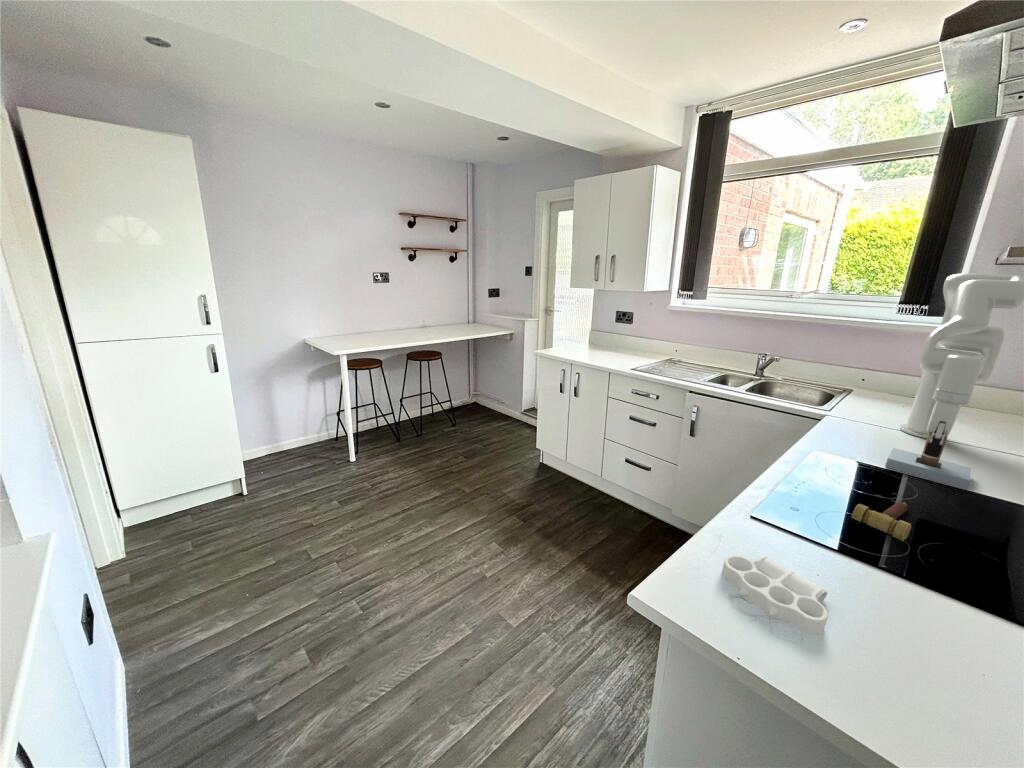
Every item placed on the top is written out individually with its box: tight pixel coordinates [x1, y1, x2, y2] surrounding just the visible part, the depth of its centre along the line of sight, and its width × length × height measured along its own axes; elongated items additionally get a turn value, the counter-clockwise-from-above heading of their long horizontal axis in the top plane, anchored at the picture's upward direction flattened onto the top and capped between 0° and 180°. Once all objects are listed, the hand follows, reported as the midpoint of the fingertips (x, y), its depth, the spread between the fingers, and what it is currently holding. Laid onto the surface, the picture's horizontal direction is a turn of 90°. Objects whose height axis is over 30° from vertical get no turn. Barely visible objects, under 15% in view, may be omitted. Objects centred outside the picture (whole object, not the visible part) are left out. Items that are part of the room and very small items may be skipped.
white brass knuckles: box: [721, 554, 829, 635], centre depth 81 cm, size 3×18×15 cm
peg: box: [920, 432, 949, 467], centre depth 129 cm, size 4×4×10 cm
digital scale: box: [885, 447, 972, 491], centre depth 131 cm, size 12×18×3 cm, turn 43°
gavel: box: [851, 501, 912, 542], centre depth 106 cm, size 21×5×10 cm
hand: (932, 452), depth 129 cm, fingers closed on peg, 4 cm apart
